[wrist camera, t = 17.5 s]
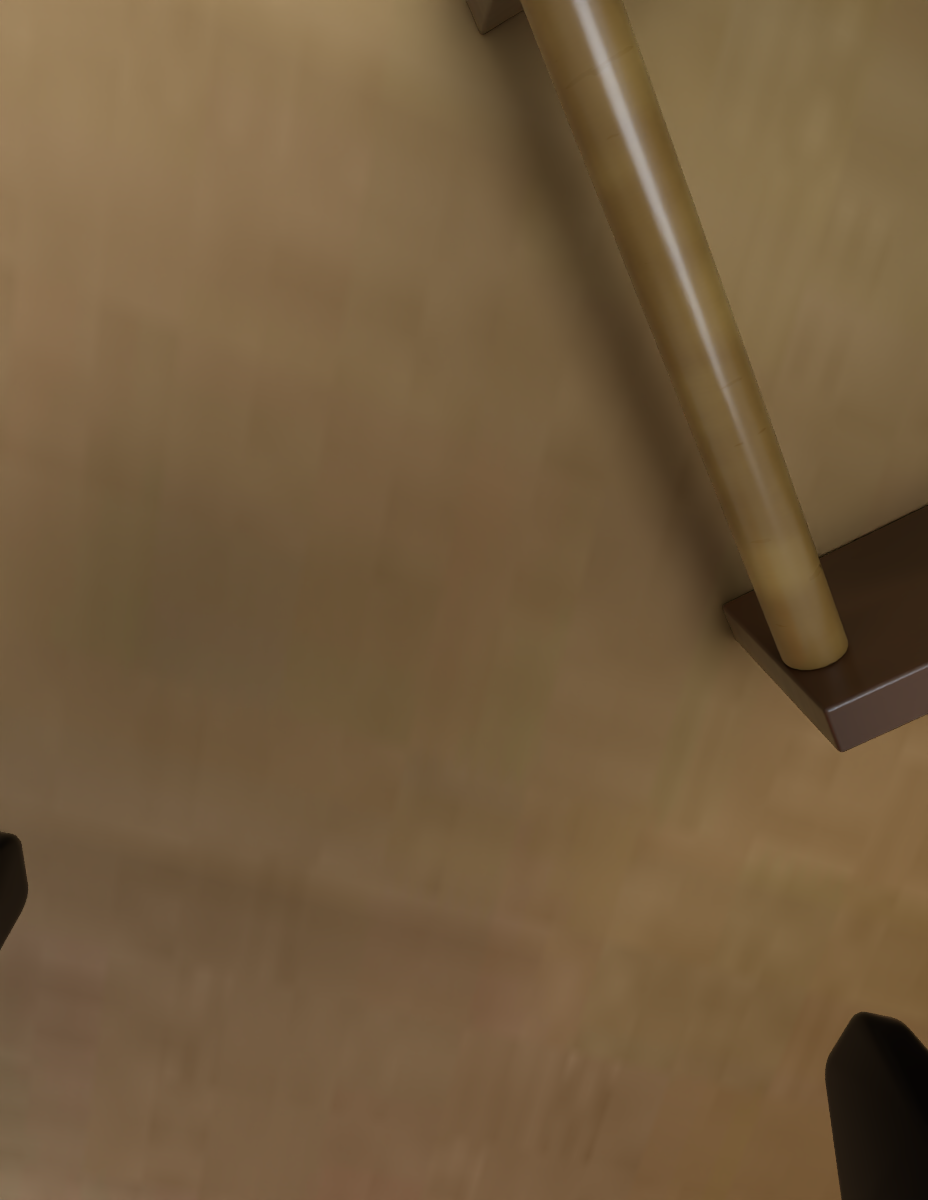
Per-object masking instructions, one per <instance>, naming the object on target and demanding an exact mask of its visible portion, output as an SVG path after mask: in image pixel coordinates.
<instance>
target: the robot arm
mask: <svg viewBox="0 0 928 1200" xmlns="http://www.w3.org/2000/svg"><path fill="white" fill-rule="evenodd" d="M27 894H28V882H27V876H26V869H25V863H24V856H23V850H22V844H21V841H20V840H19V838H18V837H17V836H16V835H13V834H10V833H5V832H0V949H1V948H2V946H3V944H4V942H5V940H6V939H7V937H8V935H9V933H10V931H11V930H12V928H13V926H14V924H15V923H16V921H17V919H18V917H19V915H20V914H21V912H22V910H23V907H24V905H25V902H26V899H27ZM825 1081H826V1089H827V1097H828V1104H829V1111H830V1118H831V1126H832V1133H833V1140H834V1148H835V1155H836V1162H837V1169H838V1177H839V1184H840V1191H841V1199H842V1200H928V1050H927V1048H926V1047H925V1046H924V1045H923V1044H922V1043H921V1042H920V1040H919V1039H918V1038H917V1037H916V1036H915V1035H914V1033H913V1032H912V1031H911V1030H910V1029H909V1028H908V1027H907V1026H906V1025H905V1024H904V1023H902V1022H901V1021H899V1020H898V1019H895V1018H892V1017H887V1016H883V1015H878V1014H873V1013H868V1012H860V1013H857V1014H855V1015H854V1016H853V1017H852V1019H851V1020H850V1022H849V1023H848V1025H847V1027H846V1028H845V1030H844V1032H843V1033H842V1035H841V1036H840V1038H839V1040H838V1041H837V1043H836V1045H835V1046H834V1048H833V1049H832V1051H831V1053H830V1054H829V1057H828V1059H827V1063H826V1069H825Z"/></svg>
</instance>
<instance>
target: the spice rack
mask: <svg viewBox="0 0 928 1200" xmlns="http://www.w3.org/2000/svg"><path fill="white" fill-rule="evenodd" d="M466 1H467V3H468V5H469V8H470V10H471V13H472V15H473V17H474V20H475V22H476V24H477V27H478V29H479V31H480V33H481V34H484V33H486V32H488V31H489V30H491V29H493V28H494V27H496V26H498V25H499V24H501V23H502V22H504V21H506V20H507V19H509V18H511V17H512V16H514V15H516V14H517V13H519V12H521V11H522V10H524V12H525V14H526V17H527V19H528V22H529V24H530V27H531V29H532V32H533V34H534V37H535V39H536V42H537V44H538V47H539V49H540V52H541V55H542V57H543V60H544V62H545V65H546V67H547V70H548V72H549V75H550V77H551V80H552V82H553V85H554V87H555V90H556V92H557V95H558V97H559V100H560V102H561V105H562V107H563V110H564V112H565V115H566V117H567V120H568V122H569V125H570V128H571V130H572V133H573V135H574V138H575V140H576V143H577V145H578V148H579V150H580V153H581V155H582V158H583V160H584V163H585V165H586V168H587V170H588V173H589V175H590V178H591V180H592V183H593V185H594V188H595V190H596V193H597V195H598V198H599V201H600V203H601V206H602V208H603V211H604V213H605V216H606V218H607V221H608V223H609V226H610V228H611V231H612V233H613V236H614V238H615V241H616V243H617V246H618V248H619V251H620V253H621V256H622V258H623V261H624V263H625V266H626V268H627V271H628V274H629V276H630V279H631V281H632V284H633V286H634V289H635V291H636V294H637V296H638V299H639V301H640V304H641V306H642V309H643V311H644V314H645V316H646V319H647V321H648V324H649V326H650V329H651V331H652V334H653V336H654V339H655V341H656V344H657V346H658V349H659V352H660V354H661V357H662V359H663V362H664V364H665V367H666V369H667V372H668V374H669V377H670V379H671V382H672V384H673V387H674V389H675V392H676V394H677V397H678V399H679V402H680V404H681V407H682V409H683V412H684V414H685V417H686V419H687V422H688V425H689V427H690V430H691V432H692V435H693V437H694V440H695V442H696V445H697V447H698V450H699V452H700V455H701V457H702V460H703V462H704V465H705V467H706V470H707V472H708V475H709V477H710V480H711V482H712V485H713V487H714V490H715V492H716V495H717V498H718V500H719V503H720V505H721V508H722V510H723V513H724V515H725V518H726V520H727V523H728V525H729V528H730V530H731V533H732V535H733V538H734V540H735V543H736V545H737V548H738V550H739V553H740V555H741V558H742V560H743V563H744V565H745V568H746V571H747V573H748V576H749V578H750V581H751V583H752V586H753V588H754V590H753V591H751V592H749V593H747V594H745V595H743V596H741V597H739V598H737V599H735V600H733V601H730V602H728V603H726V604H724V605H723V611H724V613H725V616H726V618H727V621H728V623H729V625H730V628H731V630H732V632H733V635H734V637H735V639H736V640H737V642H738V643H739V644H740V645H741V646H742V647H743V648H744V649H745V650H746V651H747V652H748V653H749V655H750V656H751V657H752V658H753V659H754V660H755V661H756V662H757V663H758V664H759V665H760V666H761V668H762V669H763V670H764V671H765V672H766V673H767V674H768V675H769V676H770V677H771V678H772V679H773V681H774V682H775V683H776V684H777V685H778V686H779V687H780V688H781V689H782V690H783V691H784V692H785V694H786V695H787V696H788V697H789V698H790V699H791V700H792V701H793V702H794V703H795V704H796V705H797V707H798V708H799V709H800V710H801V711H802V712H803V713H804V714H805V715H806V716H807V717H808V718H809V720H810V721H811V722H812V723H813V724H814V725H815V726H816V727H817V728H818V729H819V730H820V731H821V733H822V734H823V735H824V736H825V737H826V738H827V739H828V740H829V741H830V742H831V743H832V744H833V746H834V747H835V748H836V749H837V750H838V751H840V752H845V751H847V750H849V749H851V748H853V747H856V746H858V745H860V744H862V743H864V742H867V741H869V740H871V739H873V738H876V737H878V736H880V735H882V734H884V733H887V732H889V731H891V730H893V729H895V728H898V727H900V726H902V725H904V724H907V723H909V722H911V721H913V720H915V719H918V718H920V717H922V716H924V715H926V714H928V506H926V507H924V508H922V509H920V510H918V511H916V512H914V513H912V514H910V515H907V516H905V517H903V518H901V519H899V520H897V521H895V522H893V523H891V524H889V525H887V526H885V527H883V528H881V529H879V530H877V531H875V532H872V533H870V534H868V535H866V536H864V537H862V538H860V539H858V540H856V541H854V542H852V543H850V544H848V545H846V546H844V547H842V548H840V549H837V550H835V551H833V552H831V553H829V554H827V555H825V556H823V557H821V558H819V557H818V554H817V552H816V549H815V546H814V543H813V540H812V537H811V535H810V532H809V529H808V526H807V523H806V520H805V518H804V515H803V512H802V509H801V506H800V503H799V501H798V498H797V495H796V492H795V489H794V486H793V483H792V481H791V478H790V475H789V472H788V469H787V466H786V464H785V461H784V458H783V455H782V452H781V449H780V447H779V444H778V441H777V438H776V435H775V432H774V430H773V427H772V424H771V421H770V418H769V415H768V413H767V410H766V407H765V404H764V401H763V398H762V396H761V393H760V390H759V387H758V384H757V381H756V379H755V376H754V373H753V370H752V367H751V364H750V362H749V359H748V356H747V353H746V350H745V347H744V345H743V342H742V339H741V336H740V333H739V330H738V328H737V325H736V322H735V319H734V316H733V313H732V311H731V308H730V305H729V302H728V299H727V296H726V294H725V291H724V288H723V285H722V282H721V279H720V277H719V274H718V271H717V268H716V265H715V262H714V260H713V257H712V254H711V251H710V248H709V245H708V243H707V240H706V237H705V234H704V231H703V228H702V225H701V223H700V220H699V217H698V214H697V211H696V208H695V206H694V203H693V200H692V197H691V194H690V191H689V189H688V186H687V183H686V180H685V177H684V174H683V172H682V169H681V166H680V163H679V160H678V157H677V155H676V152H675V149H674V146H673V143H672V140H671V138H670V135H669V132H668V129H667V126H666V123H665V121H664V118H663V115H662V112H661V109H660V106H659V104H658V101H657V98H656V95H655V92H654V89H653V87H652V84H651V81H650V78H649V75H648V72H647V70H646V67H645V64H644V61H643V58H642V55H641V53H640V50H639V47H638V44H637V41H636V38H635V36H634V33H633V30H632V27H631V24H630V21H629V19H628V16H627V13H626V10H625V7H624V4H623V2H622V0H466Z"/></svg>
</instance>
